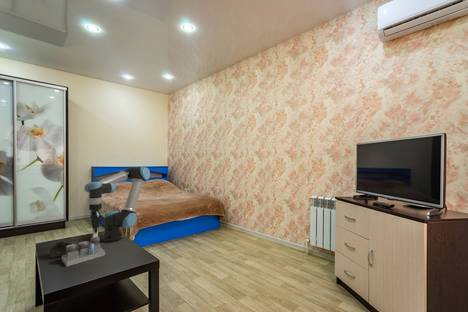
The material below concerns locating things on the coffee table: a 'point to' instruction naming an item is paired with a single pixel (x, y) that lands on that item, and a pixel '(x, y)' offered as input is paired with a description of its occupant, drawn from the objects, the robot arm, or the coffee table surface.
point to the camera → (59, 249)
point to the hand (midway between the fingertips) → (95, 236)
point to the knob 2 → (95, 240)
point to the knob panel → (82, 255)
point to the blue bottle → (91, 248)
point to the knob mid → (84, 244)
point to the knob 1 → (71, 247)
